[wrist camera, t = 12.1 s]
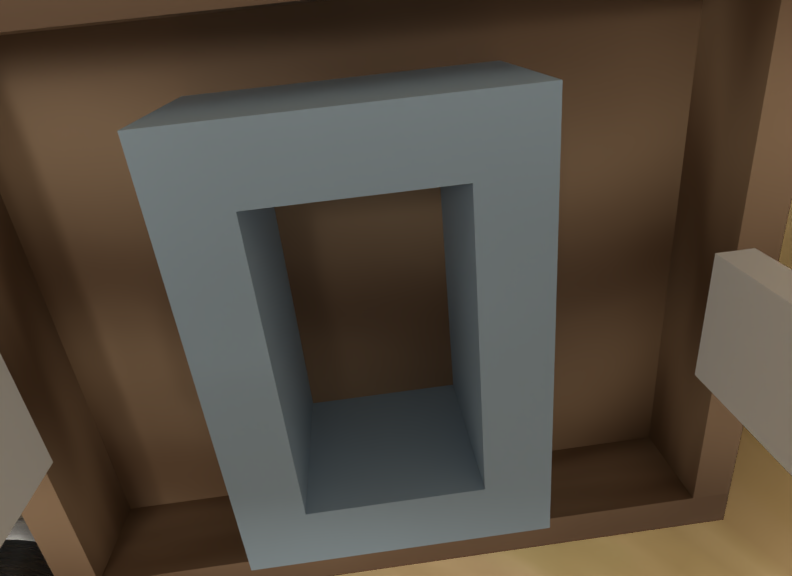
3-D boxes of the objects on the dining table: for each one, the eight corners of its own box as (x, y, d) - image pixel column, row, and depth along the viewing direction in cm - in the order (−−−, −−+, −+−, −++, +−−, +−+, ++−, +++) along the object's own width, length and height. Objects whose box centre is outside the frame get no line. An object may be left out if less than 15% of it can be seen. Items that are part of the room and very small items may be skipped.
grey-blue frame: (270, 451, 17) (251, 570, 13) (181, 96, 12) (117, 131, 9) (505, 419, 17) (549, 527, 14) (499, 60, 13) (563, 79, 9)
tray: (-103, -7, 12) (-259, -13, 9) (732, -94, 13) (861, -128, 10) (118, 511, 19) (73, 613, 16) (660, 436, 19) (723, 519, 16)
